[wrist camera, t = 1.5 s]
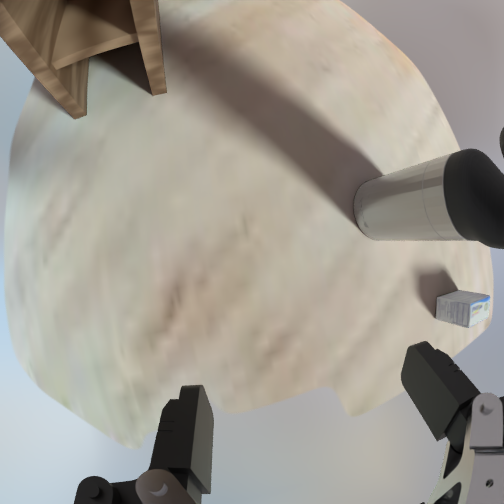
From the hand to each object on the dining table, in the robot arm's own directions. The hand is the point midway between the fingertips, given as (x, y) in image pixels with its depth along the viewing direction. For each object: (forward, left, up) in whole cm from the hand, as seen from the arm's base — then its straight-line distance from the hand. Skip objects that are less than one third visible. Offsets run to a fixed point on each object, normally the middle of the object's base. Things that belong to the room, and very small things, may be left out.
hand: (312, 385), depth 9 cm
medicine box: (-39, +15, -26) cm, 49 cm away
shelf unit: (+10, -36, -26) cm, 46 cm away
